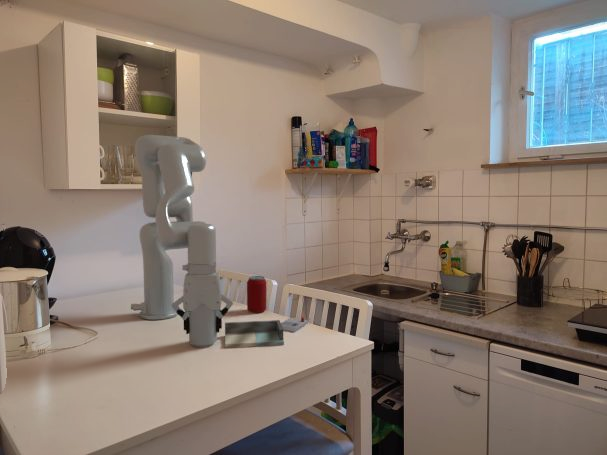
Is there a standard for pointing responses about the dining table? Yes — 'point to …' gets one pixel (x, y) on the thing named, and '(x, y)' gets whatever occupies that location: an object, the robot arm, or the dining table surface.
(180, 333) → the dining table surface
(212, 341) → the can
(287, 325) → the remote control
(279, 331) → the grey green tray
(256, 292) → the beverage can
